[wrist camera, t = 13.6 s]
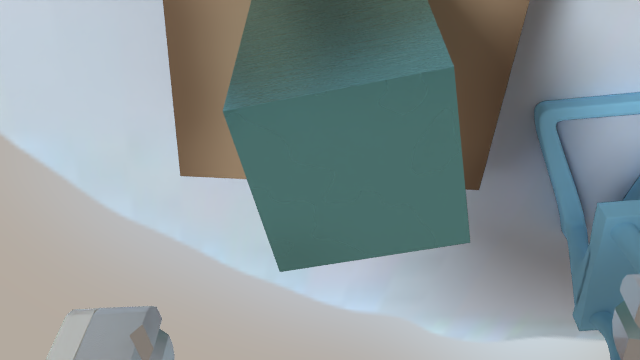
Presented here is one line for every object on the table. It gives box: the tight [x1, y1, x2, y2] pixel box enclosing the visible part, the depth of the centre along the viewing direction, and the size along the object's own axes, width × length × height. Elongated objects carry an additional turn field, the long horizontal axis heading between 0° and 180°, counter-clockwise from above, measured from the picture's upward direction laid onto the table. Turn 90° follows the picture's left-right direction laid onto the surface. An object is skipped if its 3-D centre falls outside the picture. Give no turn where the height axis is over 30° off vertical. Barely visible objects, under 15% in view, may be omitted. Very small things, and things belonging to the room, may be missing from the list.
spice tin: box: [223, 0, 470, 272], centre depth 17 cm, size 5×5×8 cm
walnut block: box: [163, 0, 530, 190], centre depth 23 cm, size 12×12×5 cm
